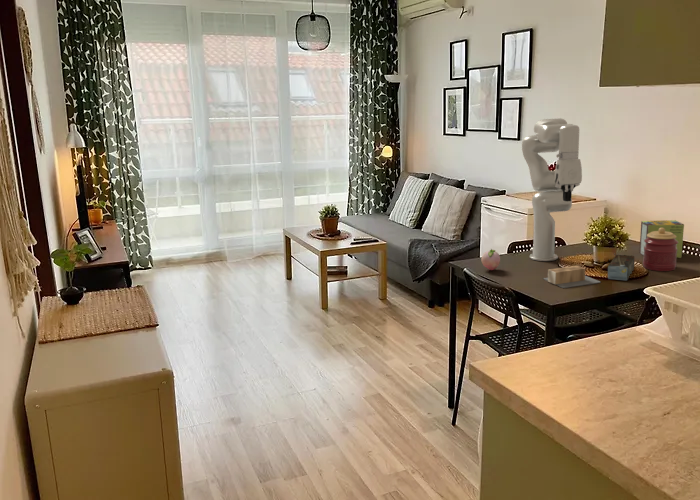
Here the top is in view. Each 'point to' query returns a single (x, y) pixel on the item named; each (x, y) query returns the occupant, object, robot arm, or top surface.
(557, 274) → the oak pillar
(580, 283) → the rubber mat
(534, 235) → the robot arm
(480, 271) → the top surface
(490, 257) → the decorative fruit
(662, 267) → the canister
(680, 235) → the protein box
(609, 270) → the beverage carton
